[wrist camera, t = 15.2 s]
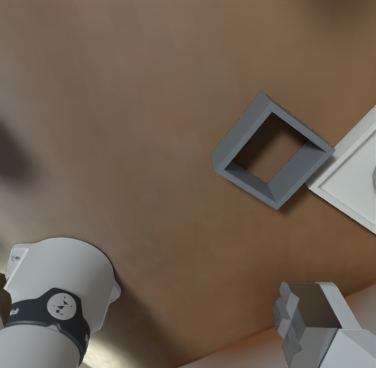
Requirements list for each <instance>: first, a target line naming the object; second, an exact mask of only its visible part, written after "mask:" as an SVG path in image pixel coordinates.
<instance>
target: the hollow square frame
mask: <svg viewBox="0 0 376 368" xmlns="http://www.w3.org/2000/svg"><path fill="white" fill-rule="evenodd" d="M271 112H273V113H275V114H276V115H277V116H279V117H280V118H281V119H283V120H284V121H285V122H287V123H288V124H289V125H291V126H292V127H293V128H295V129H296V130H298V131H299V132H300V133H302V134H303V135H304V136H306V137H307V138H308V140H307V141H306V143H305V144H304V145H303V146H302V147H301V148H300V149H299V150H298V151H297V152H296V153H295V154H294V156H293V157H292V158H291V159H290V160H289V161H288V162H287V163H286V164H285V165H284V166H283V168H282V169H281V170H280V171H279V172H278V173H277V174H276V175H275V176H274V177H273V178H272V179H271V181H270V182H269V183H268V184H267V183H265V182H263V181H262V180H260V179H259V178H257V177H256V176H254V175H253V174H251V173H250V172H248V171H246V170H245V169H243V168H242V167H240V166H239V165H237V164H236V163H234V162H233V161H232V159H233V158H234V157H235V156H236V155H237V153H238V152H239V151H240V150H241V148H242V147H243V146H244V145H245V144H246V142H247V141H248V140H249V139H250V138H251V136H252V135H253V134H254V133H255V131H256V130H257V129H258V128H259V127H260V125H261V124H262V123H263V122H264V121H265V119H266V118H267V117H268V116H269V115H270V113H271ZM335 151H336V150H335V149H334V148H333V147H332V146H331V145H330V144H329V143H328V142H327V141H325V140H324V139H323V138H322V137H321V136H320V135H319V134H317V133H316V132H315V131H313V130H312V129H311V128H309V127H308V126H307V125H306V124H304V123H303V122H302V121H300V120H299V119H298V118H296V117H295V116H294V115H292V114H291V113H290V112H288V111H287V110H286V109H284V108H283V107H282V106H281V105H279V104H278V103H277V102H275V101H274V100H273V99H271V98H270V97H269V96H267V95H266V94H265V93H263V92H262V91H260V93H259V94H258V95H257V96H256V98H255V99H254V100H253V101H252V103H251V104H250V105H249V107H248V108H247V109H246V110H245V112H244V113H243V114H242V116H241V117H240V118H239V119H238V121H237V122H236V123H235V124H234V126H233V127H232V128H231V130H230V131H229V132H228V133H227V135H226V136H225V137H224V139H223V140H222V141H221V142H220V144H219V145H218V146H217V147H216V149H215V150H214V151H213V153H212V154H211V157H212V161H213V166H214V171H215V172H217V173H218V174H220V175H221V176H223V177H225V178H226V179H228V180H229V181H231V182H233V183H234V184H236V185H237V186H239V187H241V188H242V189H244V190H245V191H247V192H249V193H250V194H252V195H253V196H255V197H257V198H258V199H260V200H261V201H263V202H265V203H266V204H268V205H269V206H271V207H273V208H274V209H276V210H278V209H279V208H280V207H281V206H282V205H283V204H284V203H285V202H286V201H287V200H288V199H289V198H290V197H291V196H292V195H293V194H294V193H295V192H296V191H297V190H298V189H299V188H300V187H301V185H302V184H303V183H304V182H305V181H306V180H307V179H308V178H309V177H310V176H311V175H312V174H313V173H314V172H315V171H316V170H317V169H318V168H319V167H320V166H321V165H322V164H323V163H324V162H325V161H326V160H327V159H328V158H329V157H330V156H331V155H332V154H333V153H334V152H335Z"/></svg>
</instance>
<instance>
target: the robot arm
mask: <svg viewBox="0 0 376 368" xmlns="http://www.w3.org/2000/svg"><path fill="white" fill-rule="evenodd" d="M279 291H280V294H281V297H280V298H279V299H277V300H276V302H275V306H274V322H275V327H276V330H277V333H278V334H279V335H280V336H281V337H282V338H284V342H283V345H282V349H283V352H284V354H285V358H286V361H287V364H288V367H289V368H376V336H375V335H374V334H373V333H371V332H370V331H369V330H367V329H362V328H361V326H360V325H359V323H358V321H357V320H356V318H355V316H354V314H353V313H352V311H351V310H350V308H349V306H348V304H347V303H346V301H345V299H344V298H343V296H342V294H341V293H340V291H339V289H338V288H337V286H336V285H335V284H334V283H333V282H291V281H284V282H283V283H282V284H281V286H280V289H279ZM120 294H121V288H120V286H119V285H118V283H117V282H116V281H115V278H114V272H113V268H112V265H111V263H110V261H109V260H108V258H107V257H106V256H105V255H104V254H103V253H102V252H101V251H100V250H98V249H97V248H96V247H94V246H92V245H90V244H88V243H86V242H83V241H80V240H77V239H72V238H51V239H46V240H43V241H40V242H38V243H33V244H16V245H14V246H13V248H12V250H11V253H10V257H9V262H8V267H7V272H6V277H5V275H4V274H2V273H0V368H78V367H79V365H80V364H81V363H82V361H83V358H84V355H85V354H86V351H87V348H88V341H89V338H90V336H91V335H93V334H94V333H96V332H97V331H98V330H100V329H101V328H102V325H103V323H104V319H105V316H106V313H107V310H108V306H109V305H110V304H111V303H112V302H114V301H115V300H116V299H117V298H119V296H120Z"/></svg>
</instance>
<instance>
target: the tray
mask: <svg viewBox="0 0 376 368" xmlns="http://www.w3.org/2000/svg"><path fill="white" fill-rule="evenodd" d="M334 149H335V150H336V151H335V152H334V153H333V154H332V155H331V156H330V157H329V158H328V159H327V160H326V161H325V162H324V163H323V164H322V165H321V166H320V167H319V168H318V169H317V170H316V171H315V172H314V173H313V174H312V175H311V176H310V177H309V178H308V179H307V180H306V181H305V182H304V183H305V184H306V186H307V187H308V188H309V189H310V190H311V191H313V192H314V193H316V194H317V195H319V196H320V197H322V198H323V199H325V200H326V201H328V202H329V203H331V204H332V205H333V206H335V207H336V208H338V209H339V210H341V211H342V212H344V213H345V214H347V215H348V216H350V217H351V218H353V219H354V220H356V221H357V222H359V223H360V224H362V225H363V226H364V227H366V228H367V229H369V230H370V231H372V232H373V233H375V234H376V186H375V184H374V181H373V176H372V175H373V172H374V169H375V166H376V105H375V106H374V107H373V108H372V109H371V110H370V111H369V112H368V113H367V114H366V115H365V116H364V117H363V118H362V119H361V120H360V121H359V122H358V123H357V124H356V125H355V126H354V127H353V128H352V129H351V130H350V131H349V133H348V134H347V135H346V136H345V137H344V138H343V139H342V140H341V141H340V142H339V143H338V144H337V145H336V146H335V147H334Z"/></svg>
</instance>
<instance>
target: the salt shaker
mask: <svg viewBox="0 0 376 368" xmlns="http://www.w3.org/2000/svg"><path fill="white" fill-rule="evenodd" d="M372 176H373V181H374V184H375V186H376V166H375V169H374V172H373V175H372Z"/></svg>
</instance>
